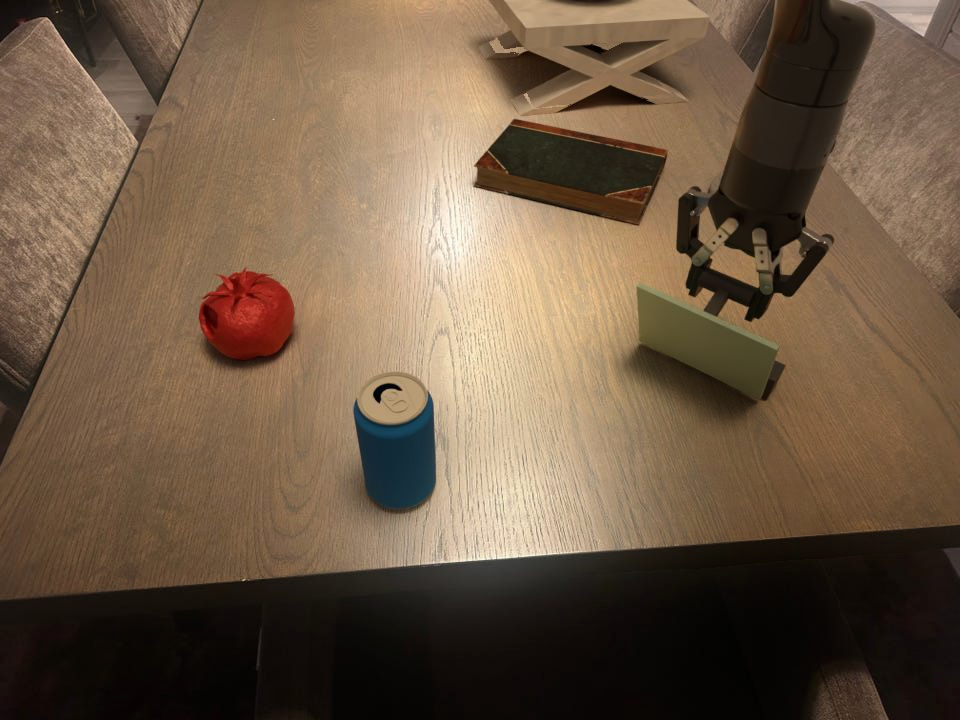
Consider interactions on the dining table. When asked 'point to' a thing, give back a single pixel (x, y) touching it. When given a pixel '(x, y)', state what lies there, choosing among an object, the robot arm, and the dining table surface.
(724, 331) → the sign
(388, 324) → the dining table surface
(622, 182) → the book
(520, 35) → the wooden side table
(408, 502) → the beverage can
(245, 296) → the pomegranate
